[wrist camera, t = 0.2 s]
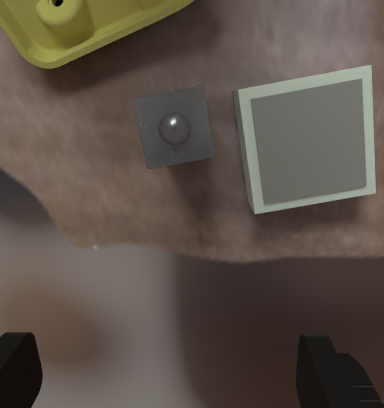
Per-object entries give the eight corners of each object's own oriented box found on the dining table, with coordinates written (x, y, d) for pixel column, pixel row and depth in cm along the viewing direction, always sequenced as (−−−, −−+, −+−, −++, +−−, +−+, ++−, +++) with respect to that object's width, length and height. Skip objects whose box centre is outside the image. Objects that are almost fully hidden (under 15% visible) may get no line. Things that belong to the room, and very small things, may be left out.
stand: (232, 91, 36) (238, 89, 31) (351, 68, 35) (372, 64, 31) (248, 203, 39) (255, 215, 35) (356, 184, 38) (377, 193, 34)
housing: (146, 99, 36) (131, 98, 26) (199, 90, 36) (204, 85, 25) (157, 152, 37) (146, 170, 27) (208, 143, 37) (215, 158, 27)
